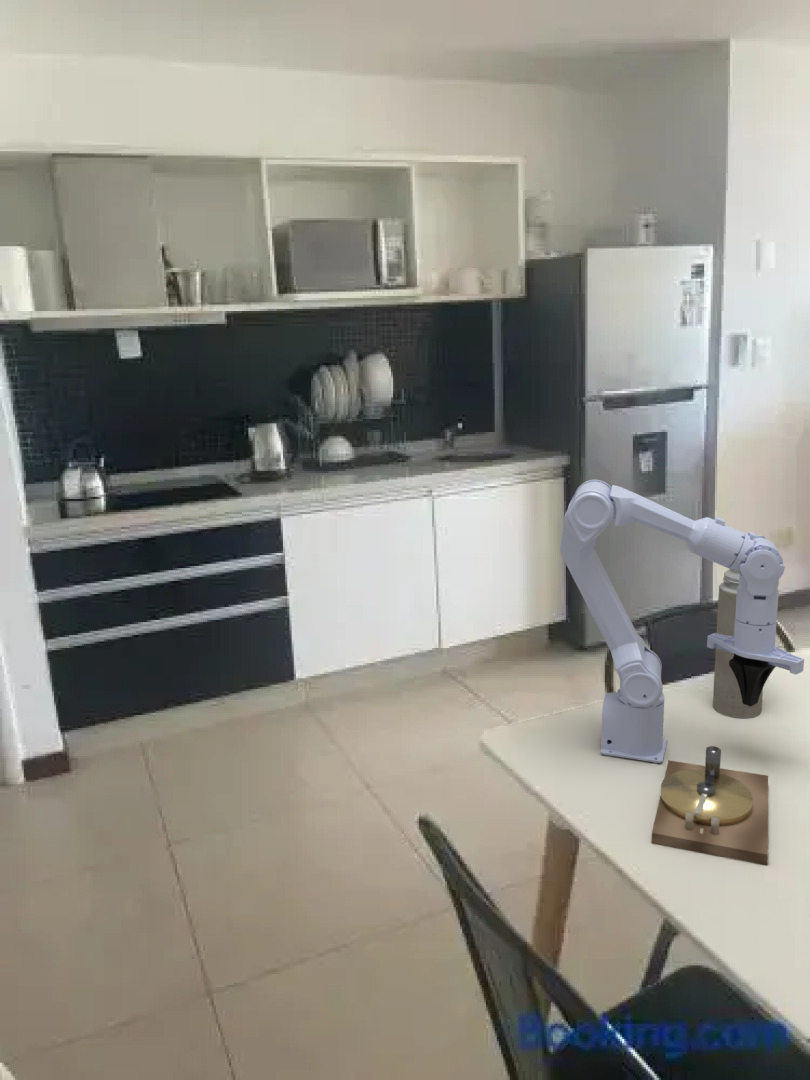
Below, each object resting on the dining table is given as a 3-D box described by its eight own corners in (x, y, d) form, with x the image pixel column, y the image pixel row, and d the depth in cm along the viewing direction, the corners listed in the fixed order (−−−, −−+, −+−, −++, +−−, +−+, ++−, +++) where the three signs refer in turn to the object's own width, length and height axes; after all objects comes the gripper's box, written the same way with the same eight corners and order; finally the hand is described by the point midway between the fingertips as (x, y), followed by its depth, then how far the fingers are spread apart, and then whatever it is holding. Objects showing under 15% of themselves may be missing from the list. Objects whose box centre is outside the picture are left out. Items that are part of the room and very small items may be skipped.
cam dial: (650, 814, 114) (652, 778, 112) (670, 771, 124) (671, 738, 123) (745, 836, 108) (747, 799, 107) (757, 789, 119) (759, 755, 117)
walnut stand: (651, 842, 110) (652, 819, 109) (668, 769, 128) (668, 748, 127) (767, 865, 105) (768, 840, 104) (767, 784, 123) (769, 763, 122)
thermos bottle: (750, 697, 151) (760, 547, 144) (768, 717, 143) (780, 560, 136) (706, 699, 151) (714, 549, 144) (721, 719, 143) (730, 562, 136)
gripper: (817, 625, 121) (810, 711, 124) (727, 601, 132) (722, 681, 136) (791, 637, 117) (785, 725, 120) (700, 612, 128) (696, 693, 132)
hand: (750, 703), depth 128 cm, fingers closed
